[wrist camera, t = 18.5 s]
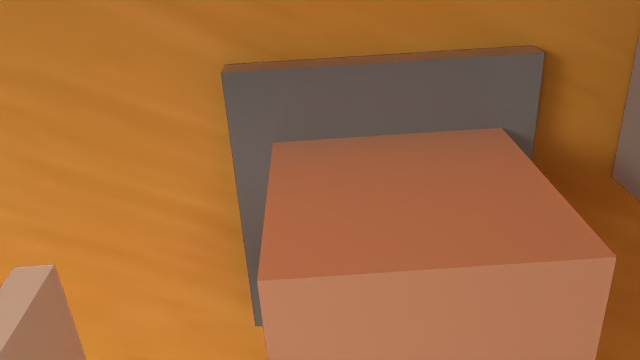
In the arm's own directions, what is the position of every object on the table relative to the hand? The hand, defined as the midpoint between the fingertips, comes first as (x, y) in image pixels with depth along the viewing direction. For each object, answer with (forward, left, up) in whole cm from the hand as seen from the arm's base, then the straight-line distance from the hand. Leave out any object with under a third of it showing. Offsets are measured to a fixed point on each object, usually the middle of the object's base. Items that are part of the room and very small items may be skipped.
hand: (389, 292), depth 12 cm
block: (+1, -1, -4) cm, 5 cm away
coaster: (0, 0, -5) cm, 5 cm away
